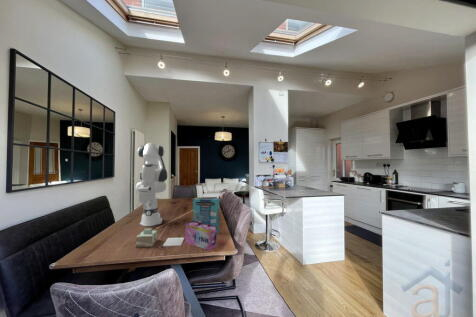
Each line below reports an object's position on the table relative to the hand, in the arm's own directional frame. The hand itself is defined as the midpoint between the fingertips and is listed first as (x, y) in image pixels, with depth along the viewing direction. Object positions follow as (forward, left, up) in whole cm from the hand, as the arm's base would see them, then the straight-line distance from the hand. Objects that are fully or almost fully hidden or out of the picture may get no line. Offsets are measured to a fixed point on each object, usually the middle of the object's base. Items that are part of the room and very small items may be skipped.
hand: (147, 207), depth 135 cm
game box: (-19, +39, -25) cm, 50 cm away
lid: (0, 0, -19) cm, 19 cm away
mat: (-1, +18, -25) cm, 31 cm away
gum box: (+5, +37, -25) cm, 45 cm away
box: (0, 0, -25) cm, 25 cm away
